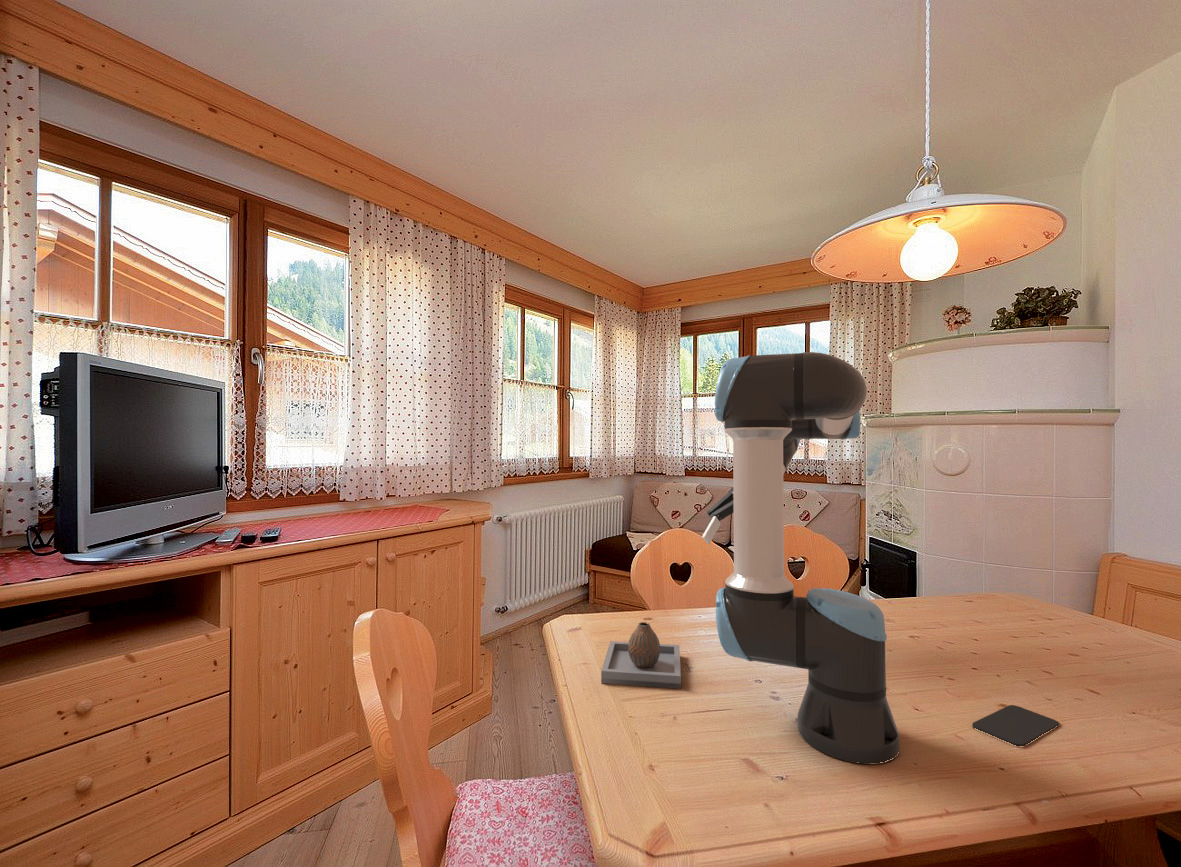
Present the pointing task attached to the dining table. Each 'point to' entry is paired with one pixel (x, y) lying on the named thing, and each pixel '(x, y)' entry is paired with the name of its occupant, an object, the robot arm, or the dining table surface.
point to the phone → (1015, 725)
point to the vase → (644, 646)
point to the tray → (627, 673)
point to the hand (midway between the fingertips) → (728, 544)
